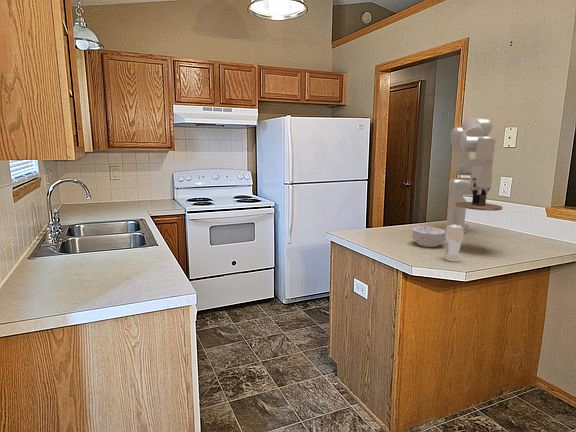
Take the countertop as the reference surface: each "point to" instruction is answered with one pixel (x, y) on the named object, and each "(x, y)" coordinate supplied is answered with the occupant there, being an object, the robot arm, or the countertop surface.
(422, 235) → the paper bowls
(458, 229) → the beer glass
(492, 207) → the walnut lid
